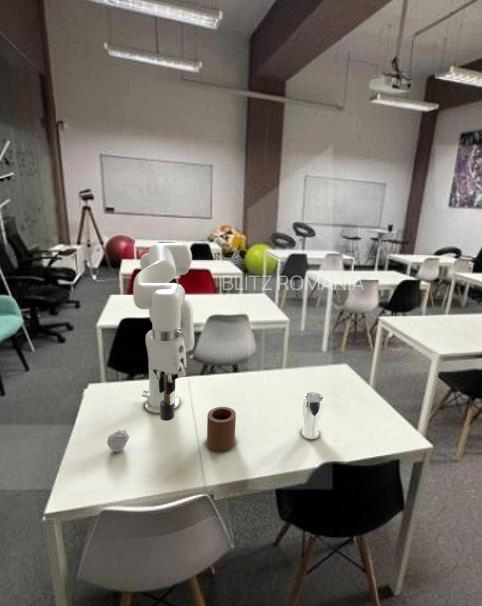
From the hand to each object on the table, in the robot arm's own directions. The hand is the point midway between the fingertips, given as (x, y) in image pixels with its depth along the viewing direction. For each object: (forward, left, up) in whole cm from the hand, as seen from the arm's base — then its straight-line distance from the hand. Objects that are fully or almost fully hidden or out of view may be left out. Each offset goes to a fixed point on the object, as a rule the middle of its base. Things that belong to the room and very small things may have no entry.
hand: (167, 391), depth 111 cm
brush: (0, 0, -9) cm, 9 cm away
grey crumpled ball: (-18, -1, -25) cm, 31 cm away
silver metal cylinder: (+37, +32, -25) cm, 55 cm away
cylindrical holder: (+10, +15, -25) cm, 31 cm away
